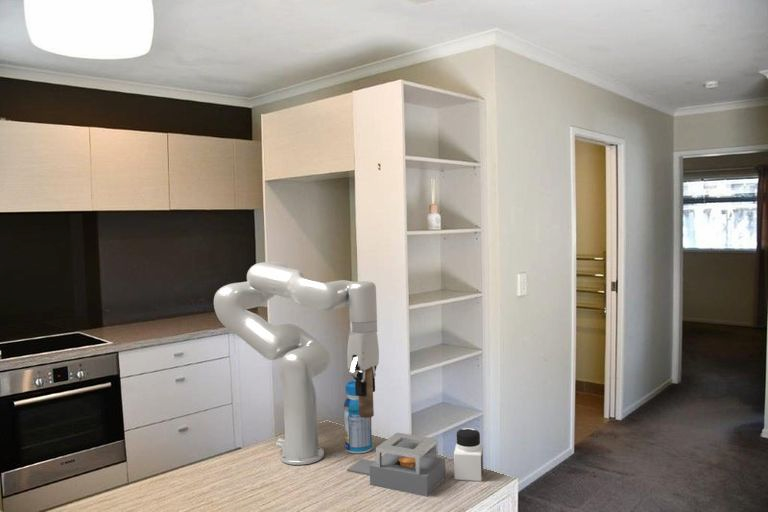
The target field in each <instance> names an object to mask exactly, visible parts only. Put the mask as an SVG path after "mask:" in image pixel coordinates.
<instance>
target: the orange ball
mask: <svg viewBox="0 0 768 512" xmlns="http://www.w3.org/2000/svg"><path fill="white" fill-rule="evenodd" d="M399 462H400V465H401V466H406V467H411V468H413V467H414V466H416V463H415V458H411V457H405V456H401V457H399Z"/></svg>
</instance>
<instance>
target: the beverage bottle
mask: <svg viewBox="0 0 768 512" xmlns="http://www.w3.org/2000/svg"><path fill="white" fill-rule="evenodd" d="M345 394H346V396H347V397H346V399H345V401H344V403H343V408H344V412H343V419H344V438H345V439H344V449H345V451H346V452H347V453H350V454H355V455H356V454H357V455H358V454H365V453H368V452H370V451H371V450H372V449H373V437H372V435H373V434H372V418H373V417H369V418H362V417H360V416H359V396H356V394H355V381H354V380H350V381H348V382H346V383H345Z"/></svg>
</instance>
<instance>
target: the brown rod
mask: <svg viewBox="0 0 768 512" xmlns="http://www.w3.org/2000/svg"><path fill="white" fill-rule="evenodd" d="M358 369H359V370H360V368H359V367H358ZM358 373H360V375H361V373H362V372H358ZM365 381H366V388H367V396H365V397H364V396H359V416H360V417H362V418H369V417H372V418H373V417H374V415H375V414H374V413H375V411H374V409H375V408H374V392H373V377H372V366H371V367H370V368H369V369H367V370H365Z"/></svg>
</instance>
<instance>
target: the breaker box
mask: <svg viewBox="0 0 768 512" xmlns="http://www.w3.org/2000/svg"><path fill="white" fill-rule="evenodd" d="M399 457H401V456H399V455H394V454H388V453H383V455H382V466H381V467H376V460H374V461H375V462H374V463H372V464H371V465H370V475H369V485H370V486H375V487H379V488H385V489H390V490H394V491H398V492H399V491H400V492H404V493H407V494H413V495H417V496H422V497H423V496H424V497H429V495H431V494H432V493H433V492H434V490H436V488H437V487H438V486H439V485H441V484H442V482H443V481H444V480H445V479H446V477H447V476H446V473H447V472H446V458H443V457H438V458H437V459H434V458H428V457H421V474H420V475H417V474H416V466H414V467H413V468H411V467H406V466H401V465H400V462H399Z"/></svg>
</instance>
